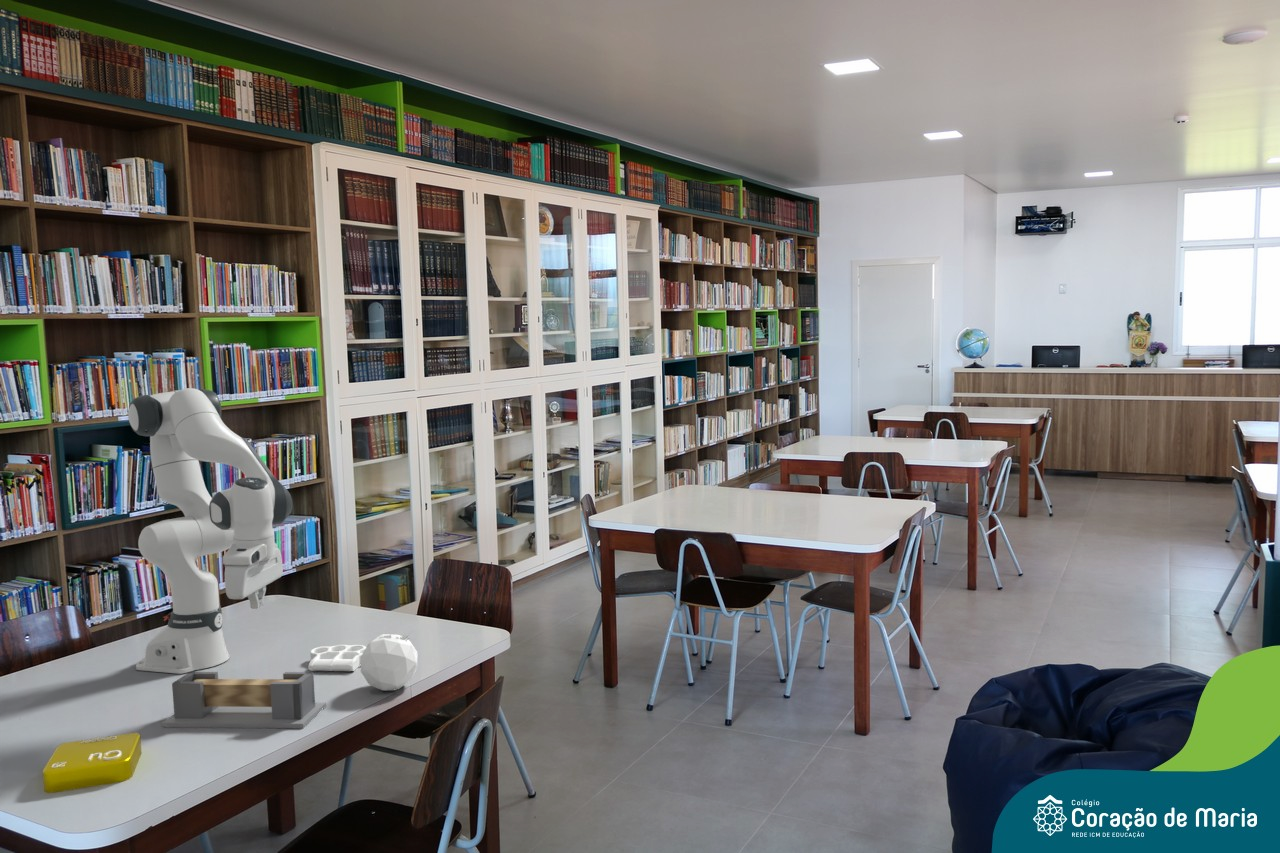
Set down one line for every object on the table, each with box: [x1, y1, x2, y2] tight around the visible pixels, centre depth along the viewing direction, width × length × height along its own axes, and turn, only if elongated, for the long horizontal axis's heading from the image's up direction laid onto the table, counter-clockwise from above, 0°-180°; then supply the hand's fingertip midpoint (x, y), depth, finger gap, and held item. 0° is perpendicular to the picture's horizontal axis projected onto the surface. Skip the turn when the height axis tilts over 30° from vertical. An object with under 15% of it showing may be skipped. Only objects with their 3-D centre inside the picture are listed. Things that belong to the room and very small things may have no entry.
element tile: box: [42, 732, 143, 794], centre depth 188 cm, size 15×15×5 cm
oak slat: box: [193, 678, 298, 707], centre depth 214 cm, size 24×4×5 cm, turn 85°
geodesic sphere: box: [360, 633, 419, 692], centre depth 229 cm, size 14×14×14 cm
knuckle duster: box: [307, 644, 367, 672], centre depth 248 cm, size 3×18×15 cm
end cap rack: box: [161, 671, 327, 729], centre depth 214 cm, size 32×12×9 cm, turn 85°
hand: (257, 606), depth 222 cm, fingers closed
